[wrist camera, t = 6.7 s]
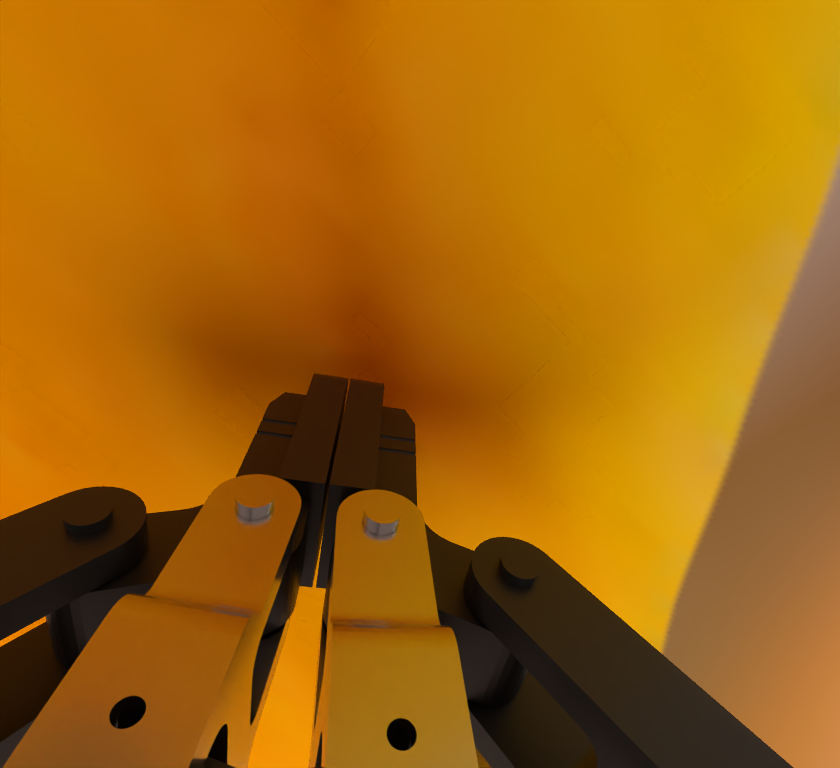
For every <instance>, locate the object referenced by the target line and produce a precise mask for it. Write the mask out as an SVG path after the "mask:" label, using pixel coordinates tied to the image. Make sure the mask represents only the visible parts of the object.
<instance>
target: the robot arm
mask: <svg viewBox="0 0 840 768" xmlns="http://www.w3.org/2000/svg"><path fill="white" fill-rule="evenodd" d="M347 386H348V378H341V377H335V376H328V375H321V374H314V375H313V378H312V381H311V384H310V387H309V390H308V393H307V395H301V394H294V393H287V392H285V393H284V394H282V395H281V396H279V397H278V398H277V399H275V400H274V401H272V402H271V403H270V404H269V406H268V408H267V410H266V412H265V414H264V417H263V420H262V421H261V423H260V425H259V428H258V430H257V434H255V436H254V438H253V441H252V443H251V445H250V447H249V449H248V451H247V454H246V456H245V458H244V460H243V462H242V465H241V467H240V469H239V471H238V473H237V475H236V477H235V478H232V479H230V480H228V481H226V482H224V483H222V484H221V485H219V486H218V487H217V488H216V489H214V490H213V492H212V493H211V494H210V496H209V497H208V499H207V500H206V502H205V503H204V504H203V505H201V506H198V507H194V508H190V509H184V510H176V511H167V512H157V513H148V514H147V513H146V506H145V504H144V502H143V501H142V499H141V498H140V497H139V496H137V495H136V494H135V493H133V492H130V491H128V490H125V489H122V488H116V487H104V486H103V487H91V488H84V489H80V490H76V491H73V492H70V493H67V494H64V495H62V496H59V497H57V498H54V499H52V500H49V501H47V502H44V503H42V504H39V505H37V506H34V507H32V508H29V509H27V510H24V511H22V512H19V513H17V514H14V515H12V516H9V517H6V518H4V519H1V520H0V640H2V639H4V638H6V637H8V636H10V635H11V634H13V633H15V632H17V631H19V630H21V629H22V628H24V627H26V626H28V625H30V624H32V623H33V622H35V621H37V620H39V619H41V618H43V617H44V616H46V622H45V623H43V624H41V625H39V626H37V627H36V628H34V629H32V630H30V631H28V632H27V633H25V634H23V635H21V636H19V637H17V638H16V639H14V640H12V641H10V642H8V643H7V644H5V645H3V646H1V647H0V768H247V767H248V761H249V756H250V752H251V748H252V744H253V740H254V737H255V733H256V730H257V727H258V723H259V720H260V717H261V714H262V711H263V708H264V704H265V701H266V698H267V695H268V692H269V688H270V685H271V682H272V679H273V676H274V673H275V669H276V666H277V663H278V660H279V657H280V654H281V650H282V647H283V644H284V641H285V638H286V634H287V631H288V628H289V622H290V616H291V614H292V612H293V610H294V607H295V603H296V599H297V594H298V590H299V586H306V587H312V586H313V580H314V575H315V570H316V565H317V560H318V555H319V550H320V545H321V540H322V546H321V554H320V561H319V569H318V576H317V584H316V587H317V588H326V593H325V600H324V607H323V614H322V621H321V628H320V637H319V650H318V662H317V675H316V688H315V700H314V713H313V725H312V738H311V749H310V759H309V768H479V767H478V761H477V755H476V749H475V747H476V748H477V750H478V751H479V752H480V753H481V755H482V756H483V757H484V759H485V760H486V761H487V763H488V764H489V765H490V767H491V768H793V767H792V766H791V765H790V764H789V763H787V762H786V761H785V760H784V759H783V758H781V757H780V756H779V755H778V754H777V753H776V752H775V751H773V750H772V749H771V748H770V747H769V746H768V745H767V744H765V743H764V742H763V741H762V740H761V739H760V738H758V737H757V736H756V735H755V734H754V733H753V732H751V731H750V730H749V729H748V728H747V727H745V726H744V725H743V724H742V723H741V722H740V721H739V720H738V719H736V718H735V717H734V716H733V715H732V714H731V713H729V712H728V711H727V710H726V709H725V708H724V707H722V706H721V705H720V704H719V703H718V702H716V700H714V699H713V698H712V697H711V696H710V695H709V694H707V693H706V692H705V691H704V690H703V689H702V688H700V687H699V686H698V685H697V684H696V683H695V682H693V681H692V680H691V679H690V678H689V677H688V676H687V675H685V674H684V673H683V672H682V671H681V670H680V669H679V668H677V667H676V666H675V665H674V664H673V663H672V662H670V661H669V660H668V659H667V658H666V657H665V656H663V655H662V654H661V653H660V652H659V651H658V650H657V649H655V648H654V647H653V646H652V645H651V644H650V643H648V642H647V641H646V640H645V639H644V638H643V637H641V636H640V635H639V634H638V633H637V632H636V631H635V630H633V629H632V628H631V627H630V626H629V625H628V624H626V623H625V622H624V621H623V620H622V619H621V618H619V617H618V616H617V615H616V614H615V613H614V612H613V611H611V610H610V609H609V608H608V607H607V606H606V605H604V604H603V603H602V602H601V601H600V600H599V599H598V598H596V597H595V596H594V595H593V594H592V593H591V592H589V591H588V590H587V589H586V588H585V587H584V586H582V585H581V584H580V583H579V582H578V581H577V580H576V579H574V578H573V577H572V576H571V575H570V574H569V573H567V572H566V571H565V570H564V569H563V568H562V567H560V566H559V565H558V564H557V563H556V562H555V561H554V560H552V559H551V558H550V557H549V556H548V555H547V554H545V553H544V552H543V551H541V550H540V549H539V548H537V547H535V546H534V545H532V544H530V543H527V542H525V541H522V540H519V539H515V538H510V537H496V538H491V539H488V540H486V541H484V542H482V543H481V544H480V545H479V546H478V547H477V548H476V549H475V551H473V550H470V549H467V548H465V547H462V546H460V545H457V544H454V543H452V542H450V541H448V540H445V539H444V538H442V537H440V536H439V535H437V534H436V533H435V532H433V531H432V530H431V529H430V528H429V527H428V526H427V525H426V524H425V522H424V518H423V515H422V513H421V511H420V510H419V509H418V507H417V486H416V456H415V453H416V446H415V424H414V422H413V421H412V419H411V418H410V416H409V415H408V413H407V412H406V410H404V409H397V408H390V407H383V406H382V405H383V393H384V384H382V383H375V382H368V381H362V380H355V379H351V381H350V386H349V391H348V396H347V401H346V393H347ZM345 401H346V406H345ZM344 408H345V411H344ZM343 415H344V416H343ZM323 530H324V531H323ZM322 535H323V538H322Z"/></svg>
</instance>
